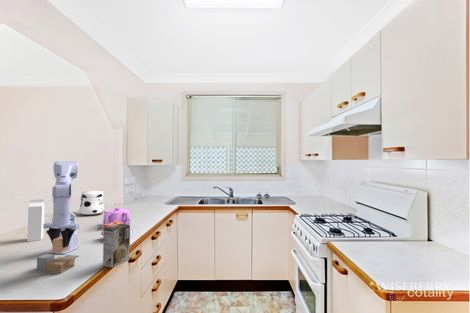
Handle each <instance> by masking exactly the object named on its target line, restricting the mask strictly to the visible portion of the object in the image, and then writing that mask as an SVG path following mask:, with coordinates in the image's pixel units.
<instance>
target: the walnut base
mask: <svg viewBox="0 0 470 313" xmlns="http://www.w3.org/2000/svg"><path fill="white" fill-rule="evenodd" d="M75 259H76V258H73V257H64V256H57V257H56V258H54V259H53V260H51V261H49V262H47V263H45V270H44V273H47V274H48V273H49V274H50V273H51V274H63V273H65V272H66V271H68V270H70V269H72V268H73V267H75Z"/></svg>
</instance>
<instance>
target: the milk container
mask: <svg viewBox="0 0 470 313" xmlns="http://www.w3.org/2000/svg"><path fill="white" fill-rule="evenodd" d="M80 196H81V197H80V205H79V214H80V215H82V216H97V215H100V214H103V213H104V210H105V205H104V191H102V190H101V191H100V190H88V191H83V192H81V194H80Z"/></svg>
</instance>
